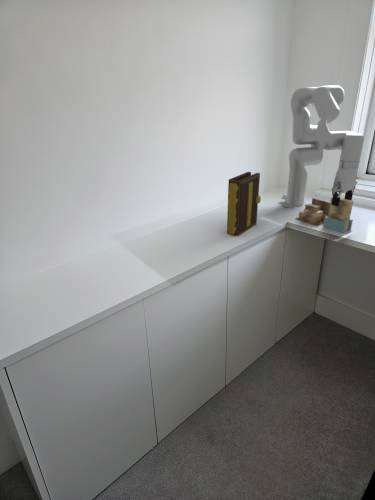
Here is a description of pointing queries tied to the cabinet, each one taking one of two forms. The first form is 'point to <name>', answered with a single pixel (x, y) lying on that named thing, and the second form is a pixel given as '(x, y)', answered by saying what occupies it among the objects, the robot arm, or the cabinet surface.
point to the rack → (315, 212)
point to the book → (242, 203)
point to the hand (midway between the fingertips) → (341, 203)
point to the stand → (336, 224)
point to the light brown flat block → (341, 211)
